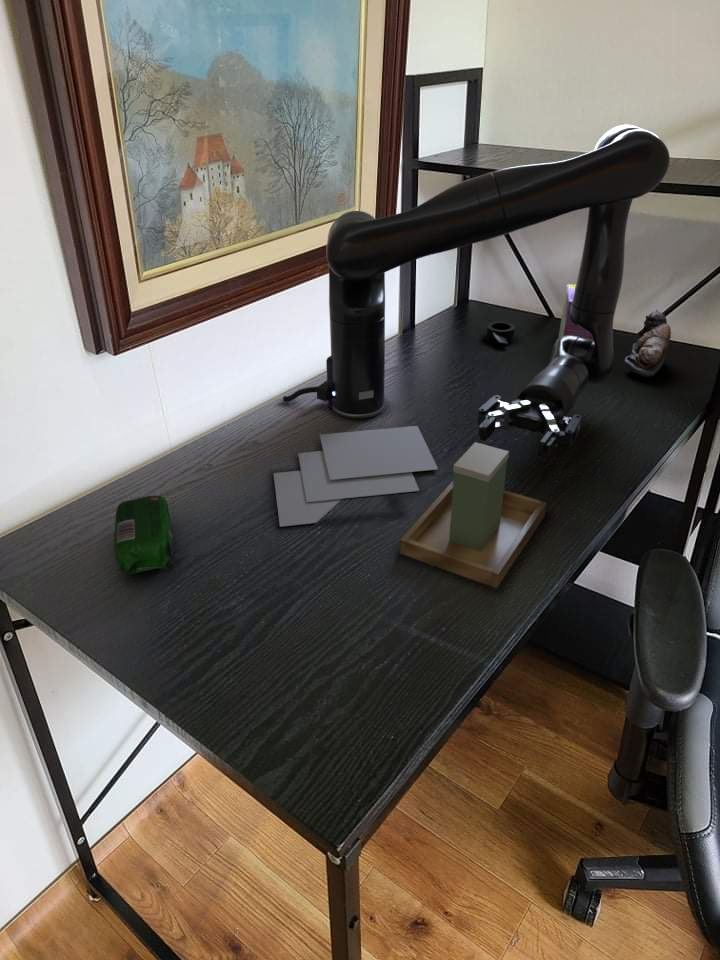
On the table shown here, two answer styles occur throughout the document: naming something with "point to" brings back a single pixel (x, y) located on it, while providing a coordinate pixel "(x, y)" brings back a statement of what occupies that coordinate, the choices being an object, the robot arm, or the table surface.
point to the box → (566, 323)
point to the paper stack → (351, 471)
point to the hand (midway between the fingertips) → (511, 442)
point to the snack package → (143, 535)
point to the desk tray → (486, 566)
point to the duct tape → (500, 333)
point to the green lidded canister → (477, 495)
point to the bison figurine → (650, 346)
